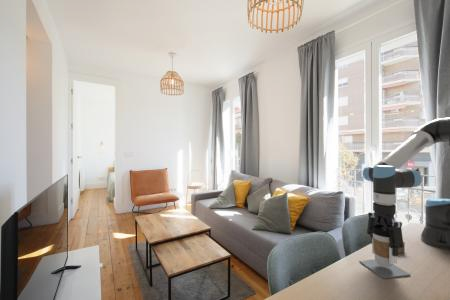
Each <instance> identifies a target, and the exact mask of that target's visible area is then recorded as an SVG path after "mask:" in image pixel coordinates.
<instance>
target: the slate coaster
mask: <svg viewBox="0 0 450 300" xmlns="http://www.w3.org/2000/svg"><path fill="white" fill-rule="evenodd" d="M359 263H360V264H361V265H362V266H364V267H365V268H367V269H368V270H370V271H371V272H372V273H374V274H375V275H377V276H378V277H380V278H381V279H383V280H384V279H386V280H387V279H394V278H403V277H404V278H405V277H411V273H409V272H407V271H406V270H404V269H402V268H400V267H399V266H397V265H396V264H393V266H391V267H386V266H382V265H379V264H377V263H376V262H375V259H366V260H360V261H359Z"/></svg>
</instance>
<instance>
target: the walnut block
mask: <svg viewBox="0 0 450 300" xmlns="http://www.w3.org/2000/svg"><path fill="white" fill-rule="evenodd" d="M403 245H404V248H399V249H398V254H403V253H405V245H406V244H405V242H404V241H403Z"/></svg>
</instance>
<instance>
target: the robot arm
mask: <svg viewBox="0 0 450 300" xmlns="http://www.w3.org/2000/svg"><path fill="white" fill-rule="evenodd" d="M438 143H448V148H450V116H449V117H439V118H435V119H434V120H431V121H429V122H426V123H425V124H423V125H421V126H419V127H418V128H417V129H416V130H415V131H412V133H411V135H410V137H409V138H408V139H407V140H406V141H404V142H403V143H402V144H401V145H399V146H398V147H396V148H395V149H394V150H393V151H392V152H390V153H389V154H387V156H385V157H384V158H383V159H381V160H380V161H379V162H377V163H376V164H375V165H368V166H366V167H364V169H363V170H362V177H363V179H364V180H366V181H368V182H371V183H372V186H373V187H372V200H373V202H372V212H368V222H367V227H366V233H367V234H368V235H369V236H370V239H371V241H370V244H371V253H372V254H373V255H375V254H374V246H373V233H372V227H373V226H374V225H375V227H376V228H378V227H382V225H383V226H384V228H385V229H386V231H389V235H390V238H389V241H390V244H391V247H389V263H390V264H394V265H396V264H397V263H398V257H399V253H398V249H399V248H404V245H403V242H404V239H403V230H402V227H403V222H402V221H397V220H396V219H395V214H396V213H397V212H396V202H397V201H396V194H397V192H396V191H397V189H403V188H405V189H406V188H408V189H411V188H417V187H419V186H420V185H421V184H422V182H423V176H422V174H421V173H420V172H419V171H417V170H416V169H410V168H409V169H408V168H406V169H401V168H402V167H403V166H404V165H406V164H407V163H408V162H409V161H410V160H412V159H413V158H414V157H416V156H417V155H418V154H419V153H420V152H422V151H423V150H424V149H425V148H429V147H431V146H433V145H434V144H438ZM424 207H425V211H424V212H425V217H424V218H425V225H424V227H423V230H422V232H421V234H420V239H421V241H422V242H423V243H425V244H426V245H430V246H433V247H436V248H440V249H444V250H450V198H441V197H440V198H427V199H426V201H425V206H424ZM389 226H390V227H389ZM390 231H393V233H392V232H390ZM394 244H395V245H394Z"/></svg>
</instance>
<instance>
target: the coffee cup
mask: <svg viewBox="0 0 450 300" xmlns="http://www.w3.org/2000/svg"><path fill="white" fill-rule="evenodd" d="M389 227H390V226H389ZM390 232H392V233H393V231H390ZM372 233H373V246H374V254H373V255H374V260H375V262H376V263H377V264H379V265H382V266H386V267H391V266H393V264H390V263H389V247H391V244H390V241H389V238H390V235H389V231H386V229H385V228H384V226H383V225H382V227H378V228H376V227H375V225H374V226H373V227H372ZM394 245H395V244H394Z"/></svg>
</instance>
